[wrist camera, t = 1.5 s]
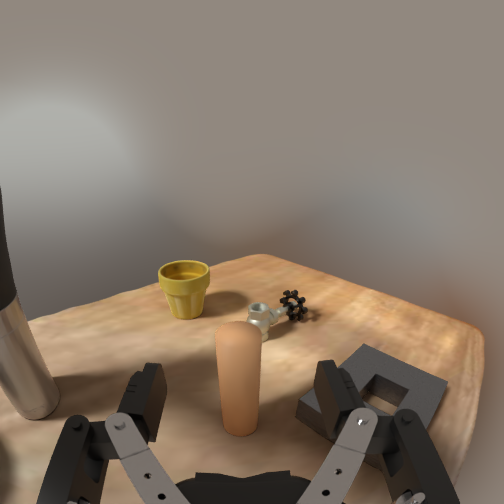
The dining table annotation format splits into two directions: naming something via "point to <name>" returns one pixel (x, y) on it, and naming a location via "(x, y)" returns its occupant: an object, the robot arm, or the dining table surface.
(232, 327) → the peg
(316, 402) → the socket block
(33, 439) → the dining table surface
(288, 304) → the valve
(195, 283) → the plant pot
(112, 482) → the dining table surface
